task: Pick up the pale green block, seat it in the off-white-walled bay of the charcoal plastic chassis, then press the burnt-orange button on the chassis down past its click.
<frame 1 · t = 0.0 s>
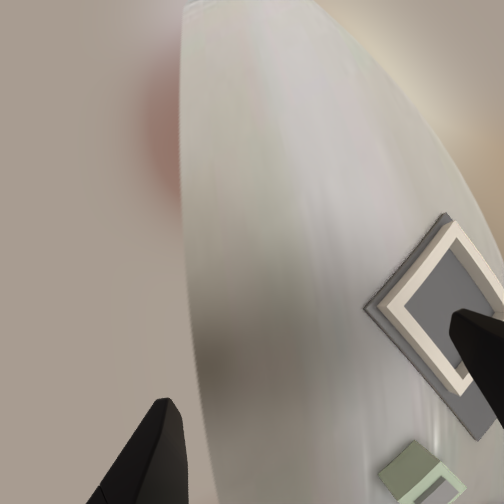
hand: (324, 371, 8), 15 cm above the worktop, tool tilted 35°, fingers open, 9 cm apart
chassis: (446, 309, 23), on the worktop
pale green block: (411, 471, 21), on the worktop
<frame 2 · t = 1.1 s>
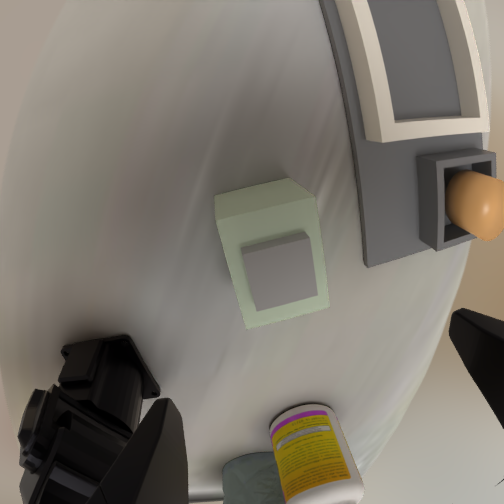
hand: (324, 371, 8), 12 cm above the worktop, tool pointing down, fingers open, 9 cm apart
supplement bottle: (301, 420, 28), on the worktop
click button: (478, 203, 16), point 4 cm above the worktop, slide at 0.0 cm
chassis: (407, 53, 16), on the worktop
pale green block: (262, 232, 19), on the worktop
drinking glass: (258, 466, 31), on the worktop
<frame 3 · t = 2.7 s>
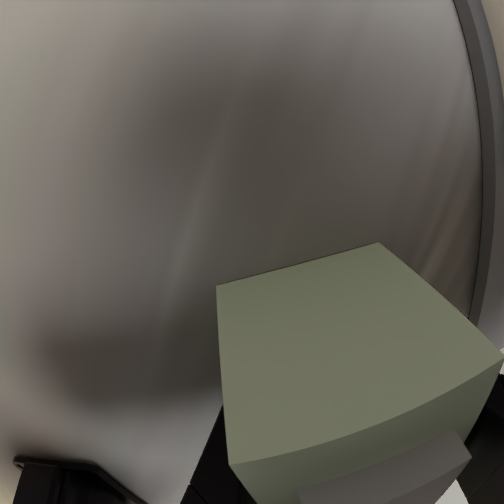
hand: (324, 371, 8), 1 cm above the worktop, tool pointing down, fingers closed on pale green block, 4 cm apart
pale green block: (314, 348, 9), on the worktop, touching gripper
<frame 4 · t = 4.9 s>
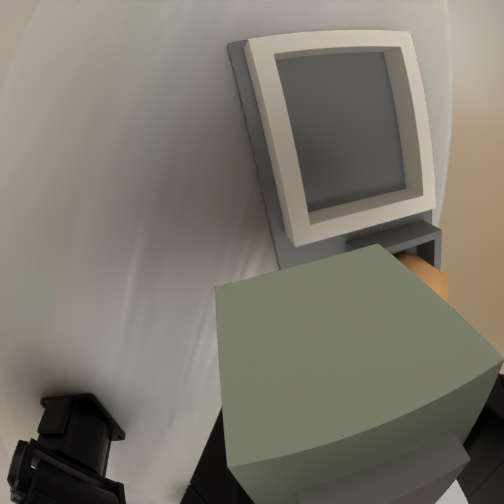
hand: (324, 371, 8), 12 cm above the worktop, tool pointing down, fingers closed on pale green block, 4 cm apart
click button: (412, 290, 18), point 4 cm above the worktop, slide at 0.0 cm
chassis: (341, 127, 17), on the worktop
pale green block: (313, 349, 9), point 11 cm above the worktop, touching gripper
when the fingers open (3 cm above the worktop, at t = 7.2 s): pale green block drops 2 cm, resting on chassis.
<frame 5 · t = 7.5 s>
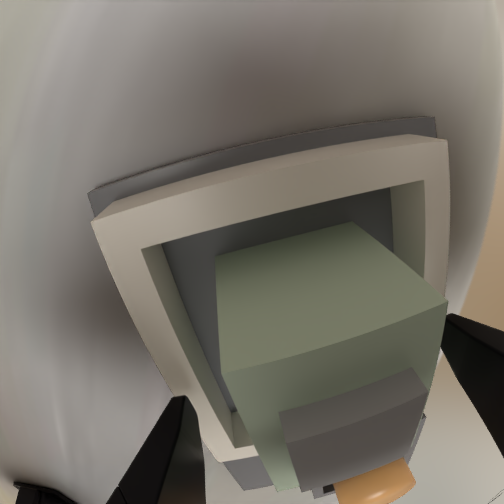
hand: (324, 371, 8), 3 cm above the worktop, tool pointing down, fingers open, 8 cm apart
click button: (371, 478, 12), point 4 cm above the worktop, slide at 0.0 cm
chassis: (296, 305, 11), on the worktop
pale green block: (300, 315, 11), point 1 cm above the worktop, touching chassis
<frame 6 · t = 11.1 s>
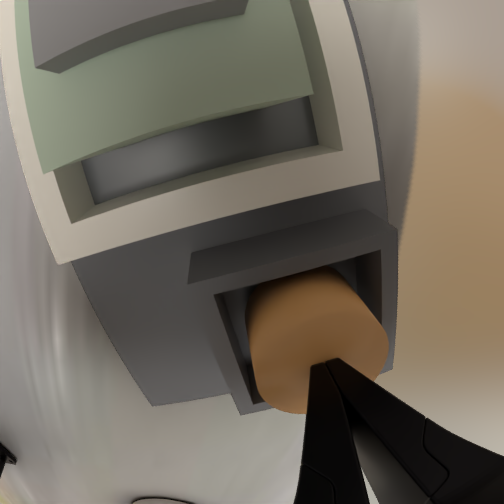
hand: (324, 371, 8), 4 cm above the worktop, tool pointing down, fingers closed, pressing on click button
click button: (312, 339, 10), point 3 cm above the worktop, slide at 0.9 cm, touching gripper
chassis: (171, 42, 8), on the worktop
pale green block: (168, 38, 8), point 1 cm above the worktop, touching chassis
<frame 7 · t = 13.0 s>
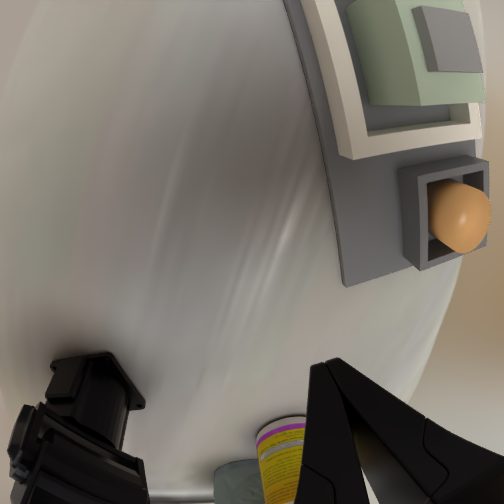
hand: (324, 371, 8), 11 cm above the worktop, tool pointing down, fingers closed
supplement bottle: (288, 430, 27), on the worktop
click button: (455, 213, 16), point 3 cm above the worktop, slide at 1.2 cm
chassis: (387, 54, 14), on the worktop
pale green block: (391, 53, 14), point 1 cm above the worktop, touching chassis
drinking glass: (249, 471, 31), on the worktop
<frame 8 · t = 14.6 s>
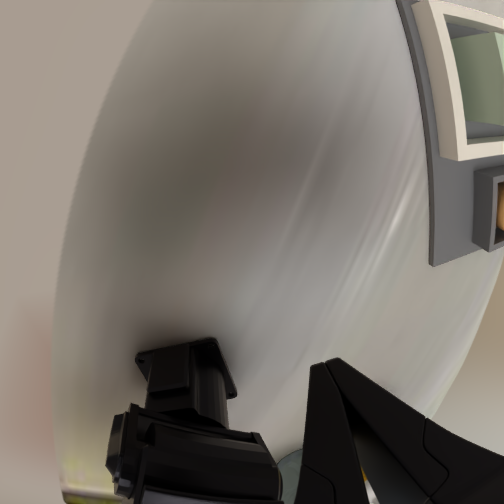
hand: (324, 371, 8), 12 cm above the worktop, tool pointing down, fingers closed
chassis: (468, 80, 17), on the worktop
pale green block: (473, 80, 16), point 1 cm above the worktop, touching chassis
drinking glass: (310, 459, 32), on the worktop
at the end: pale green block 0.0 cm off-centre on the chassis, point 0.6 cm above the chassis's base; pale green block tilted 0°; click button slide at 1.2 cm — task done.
